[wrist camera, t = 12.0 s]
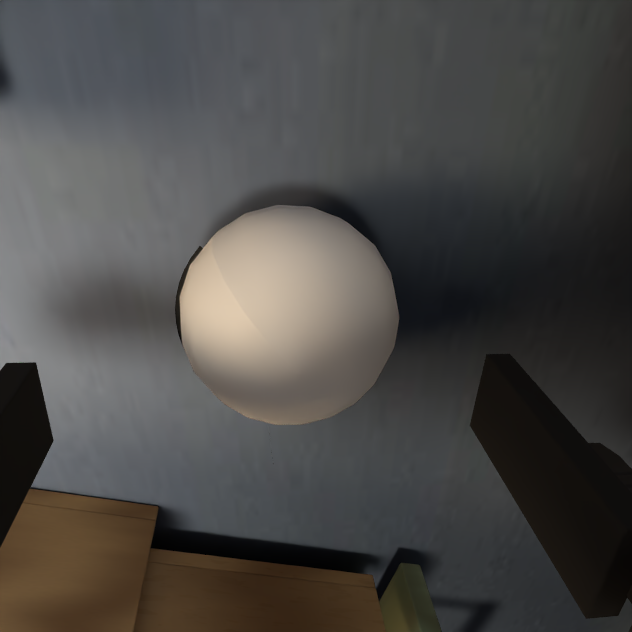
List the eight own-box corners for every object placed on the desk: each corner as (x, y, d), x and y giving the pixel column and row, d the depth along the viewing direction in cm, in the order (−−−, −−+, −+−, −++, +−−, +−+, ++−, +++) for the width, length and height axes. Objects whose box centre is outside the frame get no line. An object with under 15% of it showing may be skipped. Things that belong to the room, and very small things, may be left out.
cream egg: (211, 155, 18) (189, 211, 12) (400, 213, 20) (471, 289, 14) (159, 383, 22) (121, 518, 16) (320, 414, 24) (346, 547, 18)
